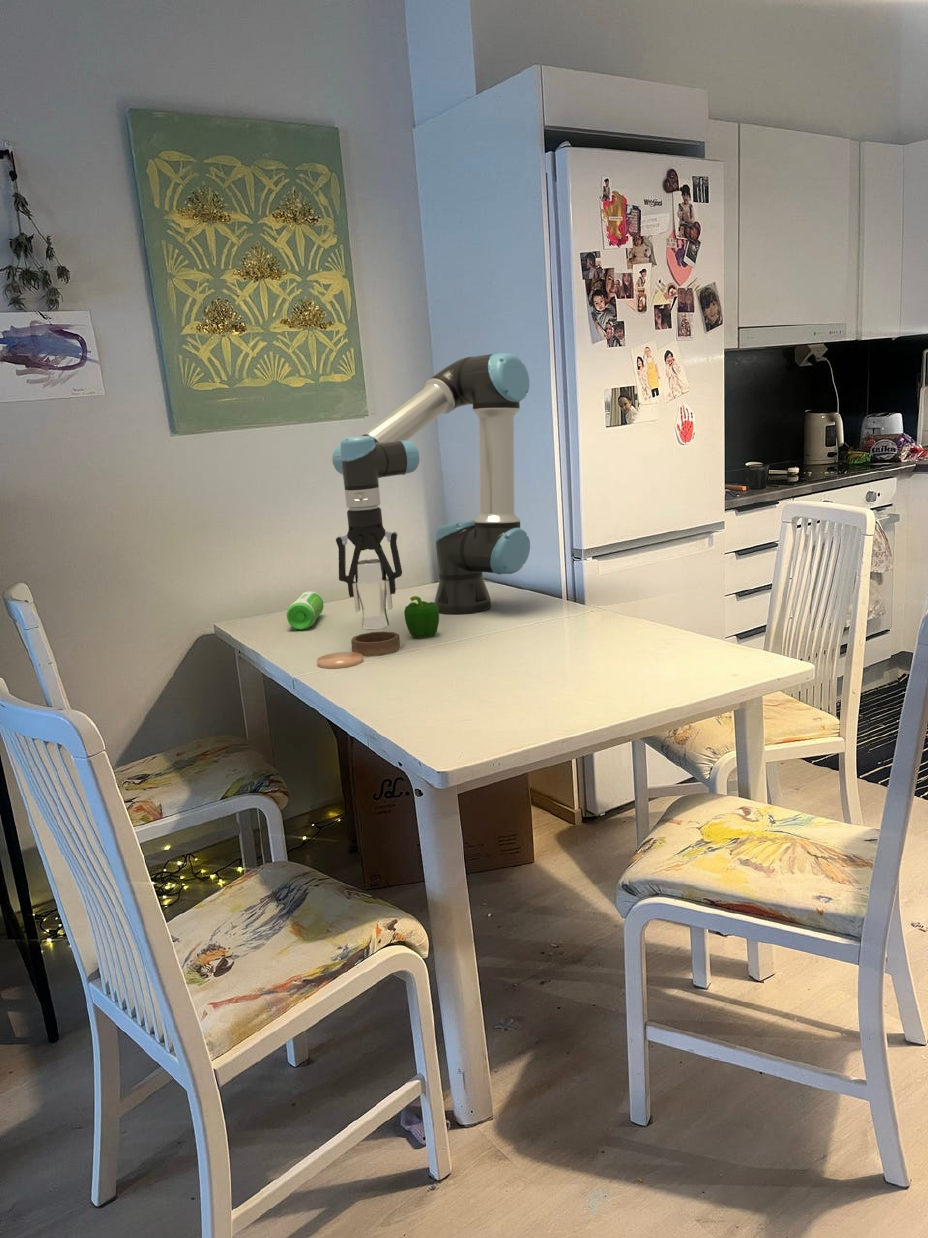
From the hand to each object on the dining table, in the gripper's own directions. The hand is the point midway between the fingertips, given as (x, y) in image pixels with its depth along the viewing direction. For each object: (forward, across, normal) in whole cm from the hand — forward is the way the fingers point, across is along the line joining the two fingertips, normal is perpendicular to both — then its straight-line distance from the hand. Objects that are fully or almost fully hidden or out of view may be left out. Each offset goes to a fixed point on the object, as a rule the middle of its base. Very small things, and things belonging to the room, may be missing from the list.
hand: (374, 609), depth 216 cm
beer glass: (+4, 0, 0) cm, 4 cm away
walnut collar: (+9, 0, 0) cm, 9 cm away
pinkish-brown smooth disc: (+9, -7, -9) cm, 15 cm away
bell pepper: (+10, +10, +11) cm, 17 cm away
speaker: (+10, -22, +33) cm, 41 cm away
